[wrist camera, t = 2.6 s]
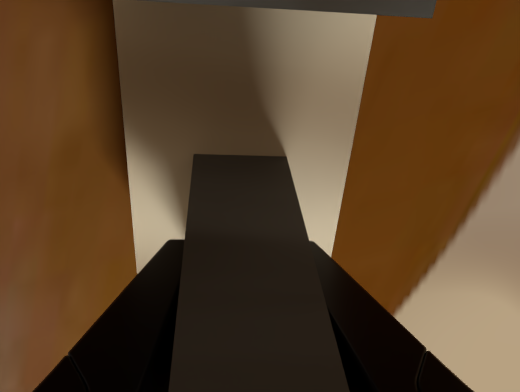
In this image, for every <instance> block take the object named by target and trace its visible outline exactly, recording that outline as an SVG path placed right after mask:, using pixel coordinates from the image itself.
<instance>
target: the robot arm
mask: <svg viewBox="0 0 520 392" xmlns="http://www.w3.org/2000/svg"><path fill="white" fill-rule="evenodd" d="M184 240H185V239H169V240H168V241H166V243H165V244H164V245H163V246H162V247H161V248H160V249H159V251H158V252H157V253H156V254H155V255H154V256H153V257H152V258H151V260H150V261H149V262H148V263H147V264H146V265H145V266H144V267H143V269H142V270H141V271H140V272H139V273H138V274H137V275H136V277H135V278H134V279H133V280H132V281H131V282H130V283H129V284H128V286H127V287H126V288H125V289H124V290H123V291H122V292H121V293H120V295H119V296H118V297H117V298H116V299H115V300H114V301H113V303H112V304H111V305H110V306H109V307H108V308H107V309H106V310H105V312H104V313H103V314H102V315H101V316H100V317H99V318H98V319H97V321H96V322H95V323H94V324H93V325H92V326H91V327H90V329H89V330H88V331H87V332H86V333H85V334H84V335H83V336H82V338H81V339H80V340H79V341H78V342H77V343H76V344H75V345H74V347H73V348H72V349H71V350H70V351H69V352H68V356H64V358H63V359H62V360H61V361H60V362H59V363H58V364H57V366H56V367H55V368H54V369H53V370H52V371H51V372H50V373H49V374H48V375H47V377H46V378H45V379H44V380H43V381H42V382H41V383H40V384H39V385H38V386H37V387H36V388H35V389H34V390H33V392H169V383H170V373H171V364H172V354H173V345H174V335H175V326H176V316H177V307H178V297H179V288H180V278H181V269H182V259H183V250H184ZM309 242H310V246H311V249H312V253H313V257H314V260H315V264H316V268H317V272H318V275H319V279H320V283H321V287H322V290H323V294H324V298H325V302H326V305H327V309H328V313H329V316H330V320H331V324H332V328H333V331H334V335H335V339H336V343H337V346H338V350H339V354H340V358H341V361H342V365H343V369H344V372H345V376H346V380H347V384H348V387H349V391H350V392H474V391H473V390H471V389H470V388H469V387H468V386H467V385H465V383H463V382H462V381H461V380H460V379H459V378H458V377H457V376H456V375H455V374H454V373H452V372H451V371H450V370H449V369H448V368H447V367H446V366H445V365H444V364H443V363H442V362H440V360H439V359H437V358H436V357H435V356H434V355H433V354H432V353H431V352H430V351H426V347H425V346H424V345H422V344H421V343H420V342H419V341H418V340H417V339H416V338H415V337H414V336H413V335H412V334H411V333H410V332H409V331H408V330H407V329H406V328H405V327H404V326H403V325H401V324H400V323H399V322H398V321H397V320H396V319H395V318H394V317H393V316H392V315H391V314H390V313H389V312H388V311H387V310H386V309H385V308H384V307H383V306H381V305H380V304H379V303H378V302H377V301H376V300H375V299H374V298H373V297H372V296H371V295H370V294H369V293H368V292H367V291H366V290H365V289H364V288H363V287H362V286H360V285H359V284H358V283H357V282H356V281H355V280H354V279H353V278H352V277H351V276H350V275H349V274H348V273H347V272H346V271H345V270H344V269H343V268H342V267H340V266H339V265H338V264H337V263H336V262H335V261H334V260H333V259H332V258H331V257H330V256H329V255H328V254H327V253H326V252H325V251H324V250H323V249H322V248H320V247H319V246H318V245H317V244H316V243H315V242H314V241H309Z"/></svg>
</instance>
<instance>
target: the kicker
mask: <svg viewBox="0 0 520 392" xmlns="http://www.w3.org/2000/svg"><path fill="white" fill-rule="evenodd" d="M435 4H436V0H113V9H114V21H115V32H116V43H117V54H118V65H119V76H120V88H121V99H122V110H123V121H124V132H125V143H126V154H127V166H128V177H129V188H130V199H131V210H132V221H133V232H134V244H135V255H136V266H137V274H138V273H139V272H140V271H141V270H142V269H143V267H144V266H145V265H146V264H147V263H148V262H149V261H150V260H151V258H152V257H153V256H154V255H155V254H156V253H157V252H158V251H159V249H160V248H161V247H162V246H163V245H164V244H165V243H166V241H168V240H169V239H185V240H184V250H183V259H182V269H181V278H180V288H179V297H178V307H177V316H176V326H175V335H174V345H173V354H172V364H171V373H170V383H169V392H350V391H349V387H348V384H347V380H346V376H345V372H344V369H343V365H342V361H341V358H340V354H339V350H338V346H337V343H336V339H335V335H334V331H333V328H332V324H331V320H330V316H329V313H328V309H327V305H326V302H325V298H324V294H323V290H322V287H321V283H320V279H319V275H318V272H317V268H316V264H315V260H314V257H313V253H312V249H311V246H310V242H309V241H314V242H315V243H316V244H317V245H318V246H319V247H320V248H322V249H323V250H324V251H325V252H326V253H327V254H328V255H329V256H330V257H331V254H332V249H333V244H334V239H335V233H336V228H337V223H338V217H339V212H340V207H341V202H342V196H343V191H344V186H345V180H346V175H347V170H348V164H349V159H350V154H351V149H352V143H353V138H354V133H355V127H356V122H357V117H358V112H359V106H360V101H361V96H362V90H363V85H364V80H365V75H366V69H367V64H368V59H369V53H370V48H371V43H372V38H373V32H374V27H375V22H376V16H377V15H387V16H404V17H421V18H432V17H433V12H434V8H435Z"/></svg>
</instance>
